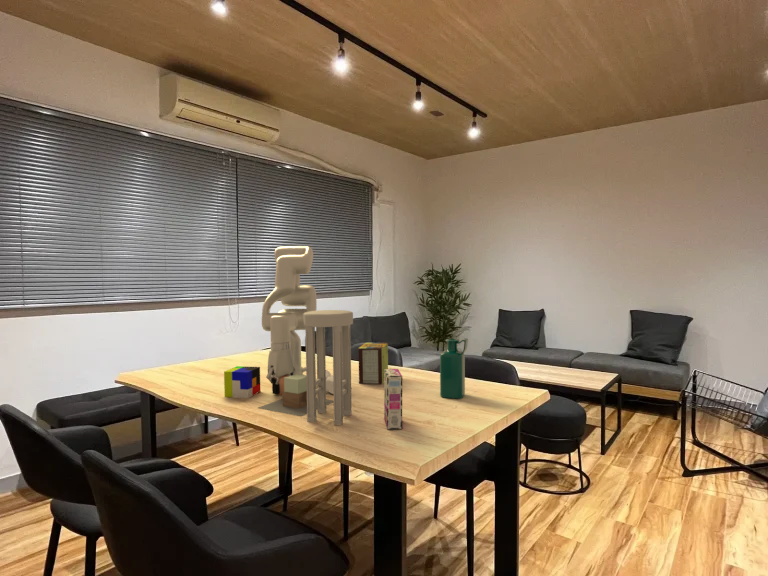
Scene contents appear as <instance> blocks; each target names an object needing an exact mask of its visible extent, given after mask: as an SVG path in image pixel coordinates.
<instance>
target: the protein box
mask: <svg viewBox="0 0 768 576" xmlns="http://www.w3.org/2000/svg"><path fill="white" fill-rule="evenodd" d="M388 345H389V344H388V342H365V343H363V344H362V345H361V346H359V347H358V350H357V351H358V352H357V354H358V384H360V385H362V384H363V385H384V369H389V352H388V351H389V346H388Z"/></svg>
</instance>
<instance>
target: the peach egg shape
mask: <svg viewBox="0 0 768 576" xmlns="http://www.w3.org/2000/svg"><path fill="white" fill-rule="evenodd" d="M285 377H289V376H288V375H283V376H280V377H279V382H278V384H279V388H280V393H279V394H274V395H275V396H282V392H283V391H284V378H285ZM275 380H276V377H275Z"/></svg>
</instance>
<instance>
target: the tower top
mask: <svg viewBox="0 0 768 576" xmlns="http://www.w3.org/2000/svg"><path fill="white" fill-rule="evenodd" d="M305 391H307V384H306V374H303V375H299V374H295V375H292V376H289V377H285V378H284V392H289V393H295V394H300V393H303V392H305Z"/></svg>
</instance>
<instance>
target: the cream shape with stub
mask: <svg viewBox="0 0 768 576" xmlns="http://www.w3.org/2000/svg"><path fill="white" fill-rule="evenodd" d="M352 389H353V388H352V387H351V390H352ZM328 392H329V393H330V394H332V395H334V387H333V375H332V374H331V372H330V371H329V370H328V369H326V393H328Z"/></svg>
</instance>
